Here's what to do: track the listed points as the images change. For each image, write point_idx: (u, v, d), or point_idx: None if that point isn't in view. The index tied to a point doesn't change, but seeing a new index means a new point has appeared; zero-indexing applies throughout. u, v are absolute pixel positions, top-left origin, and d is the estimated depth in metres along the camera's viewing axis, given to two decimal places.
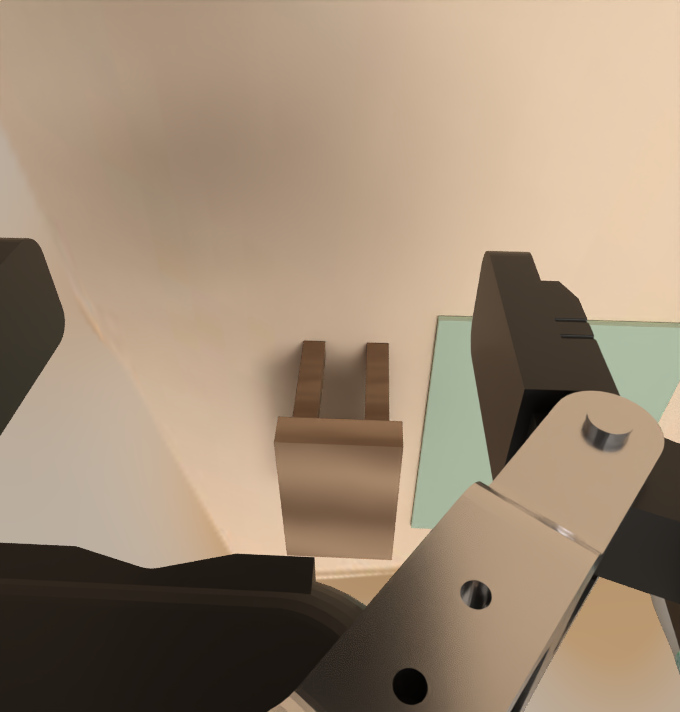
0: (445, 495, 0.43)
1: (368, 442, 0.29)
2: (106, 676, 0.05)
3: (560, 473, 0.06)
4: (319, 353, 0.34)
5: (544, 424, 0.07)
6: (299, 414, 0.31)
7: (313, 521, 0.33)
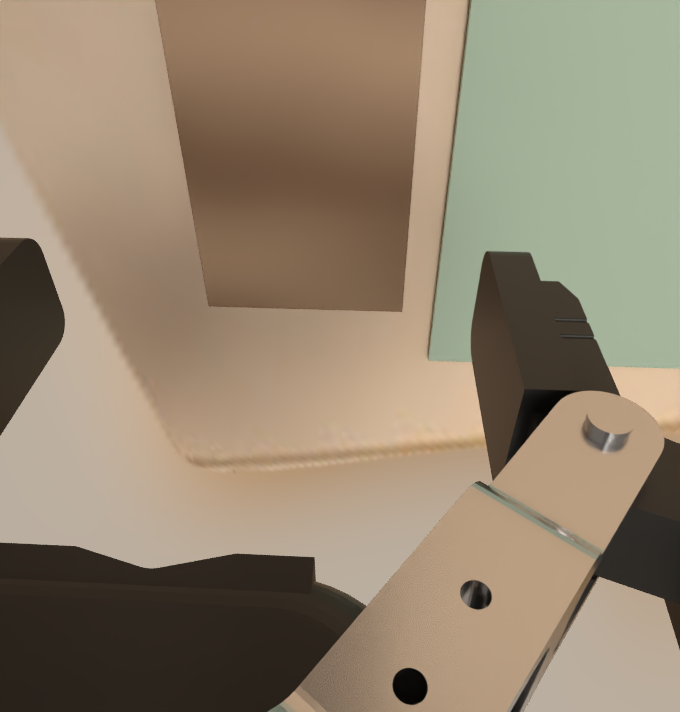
0: None
1: None
2: (106, 676, 0.05)
3: (560, 473, 0.06)
4: None
5: (544, 424, 0.07)
6: None
7: (249, 200, 0.17)
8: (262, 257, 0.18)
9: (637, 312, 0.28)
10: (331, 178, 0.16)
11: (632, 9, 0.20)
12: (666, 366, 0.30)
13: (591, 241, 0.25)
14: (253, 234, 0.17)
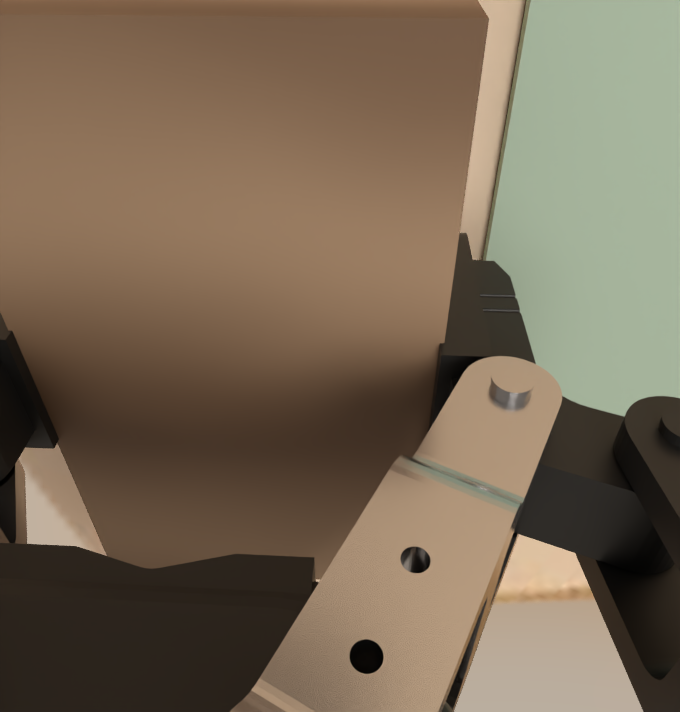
0: None
1: (322, 13, 0.06)
2: (106, 676, 0.05)
3: (460, 428, 0.07)
4: None
5: (455, 393, 0.07)
6: None
7: (158, 455, 0.10)
8: (188, 520, 0.11)
9: None
10: (294, 430, 0.10)
11: None
12: None
13: (664, 395, 0.19)
14: (171, 494, 0.11)
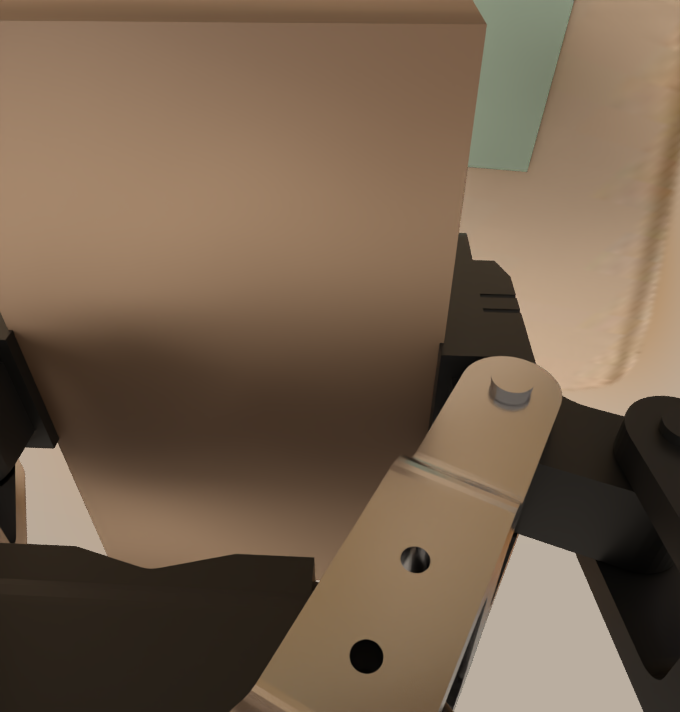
0: None
1: (321, 17, 0.06)
2: (106, 676, 0.05)
3: (460, 427, 0.07)
4: None
5: (455, 393, 0.07)
6: None
7: (159, 456, 0.10)
8: (189, 521, 0.11)
9: None
10: (294, 432, 0.10)
11: None
12: None
13: None
14: (172, 495, 0.11)
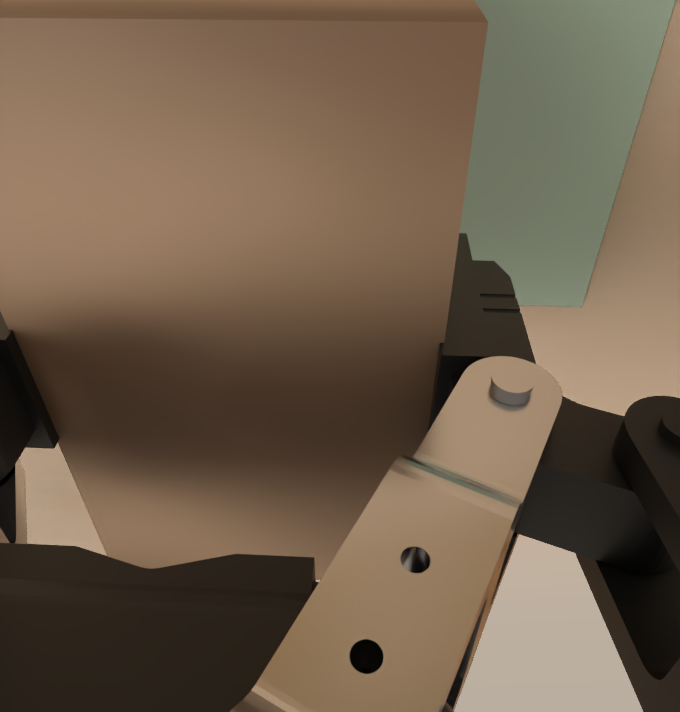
0: (473, 255, 0.22)
1: (322, 16, 0.06)
2: (106, 676, 0.05)
3: (460, 428, 0.07)
4: None
5: (454, 393, 0.07)
6: None
7: (159, 455, 0.10)
8: (189, 521, 0.11)
9: (545, 40, 0.17)
10: (294, 431, 0.10)
11: None
12: None
13: None
14: (171, 494, 0.11)
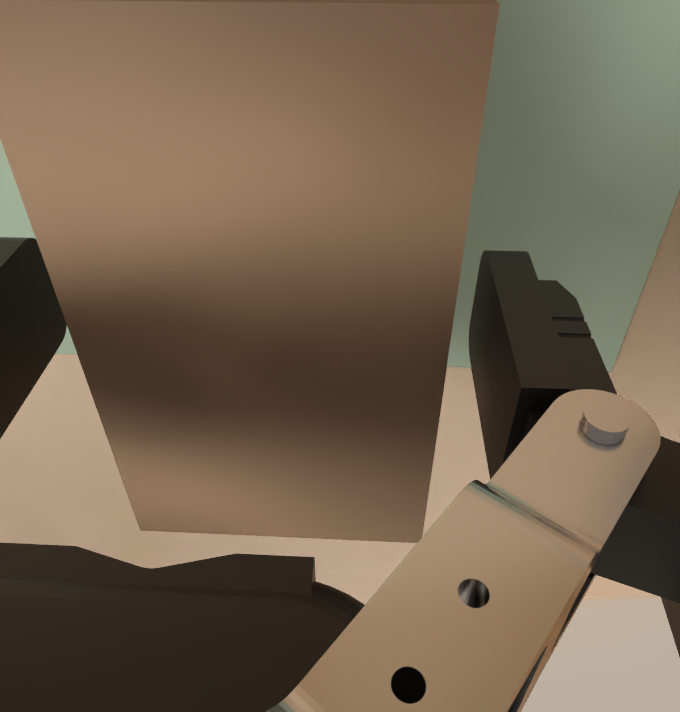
0: None
1: None
2: (106, 676, 0.05)
3: (557, 471, 0.06)
4: None
5: (541, 423, 0.07)
6: None
7: (188, 414, 0.11)
8: (213, 480, 0.12)
9: (579, 77, 0.14)
10: (315, 390, 0.10)
11: None
12: None
13: None
14: (198, 453, 0.11)
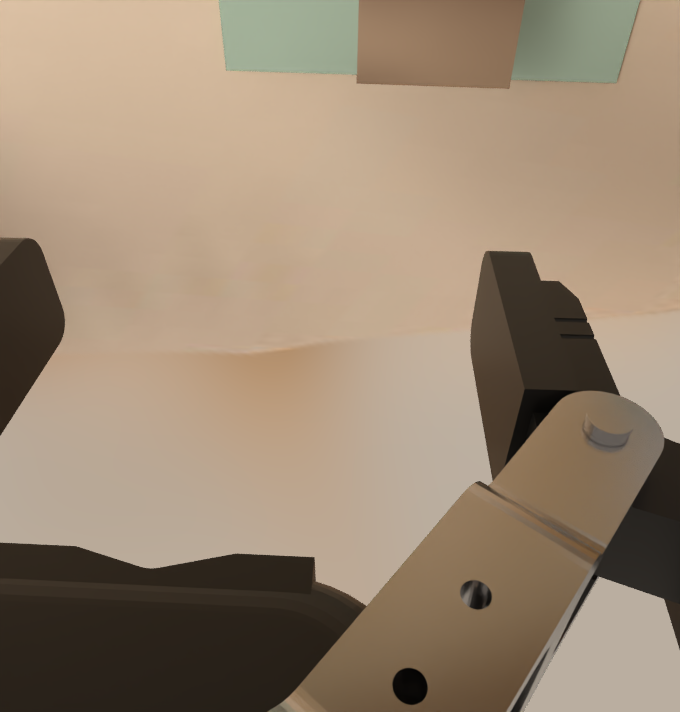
0: (539, 35, 0.30)
1: None
2: (106, 676, 0.05)
3: (560, 473, 0.06)
4: None
5: (544, 424, 0.07)
6: None
7: None
8: (406, 34, 0.23)
9: None
10: None
11: None
12: None
13: None
14: (403, 12, 0.23)
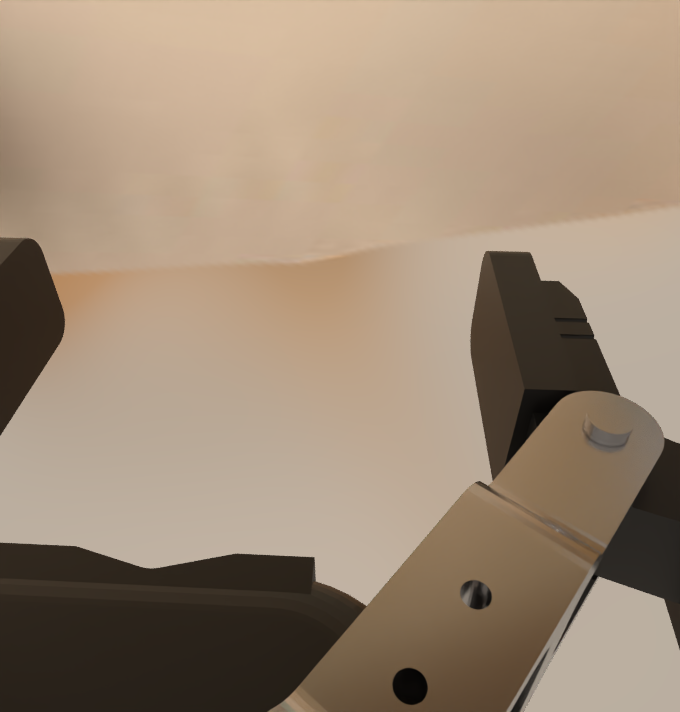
0: None
1: None
2: (106, 676, 0.05)
3: (560, 473, 0.06)
4: None
5: (544, 424, 0.07)
6: None
7: None
8: None
9: None
10: None
11: None
12: None
13: None
14: None
